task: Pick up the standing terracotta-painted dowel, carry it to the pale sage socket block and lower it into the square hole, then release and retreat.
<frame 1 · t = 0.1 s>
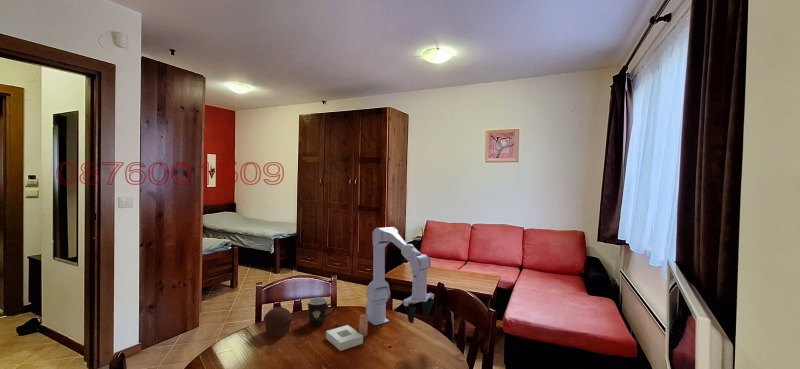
hand: (418, 319, 129), 10 cm above the table, fingers open, 7 cm apart
muffin: (277, 333, 135), on the table
socket block: (344, 340, 130), on the table
dowel: (363, 334, 136), on the table
coffee mug: (319, 324, 145), on the table
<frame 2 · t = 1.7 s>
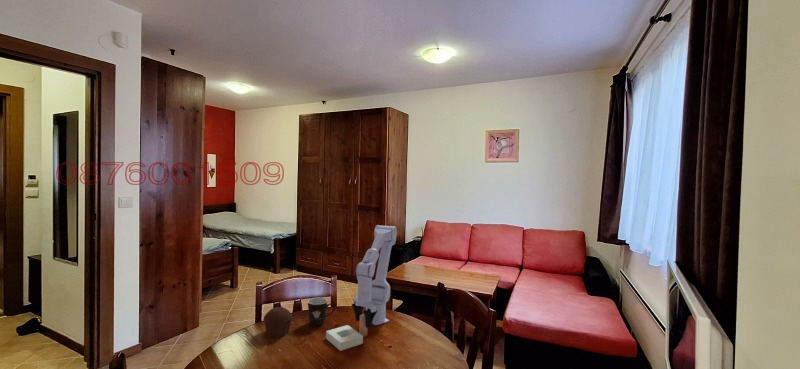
hand: (363, 323, 136), 5 cm above the table, fingers open, 7 cm apart
nothing on the table moved.
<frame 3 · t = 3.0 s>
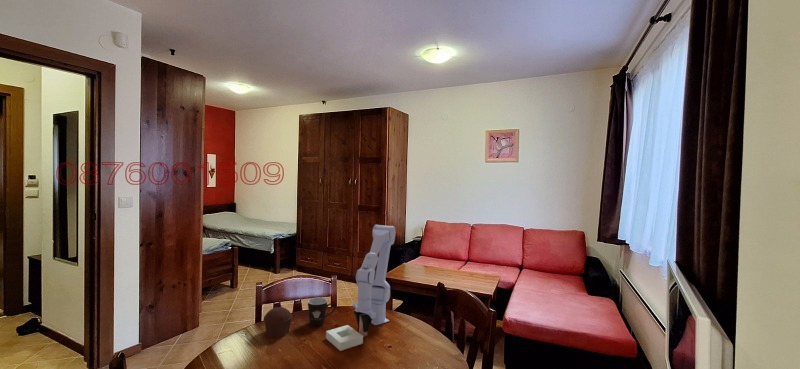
hand: (363, 329, 136), 2 cm above the table, fingers closed on dowel, 3 cm apart
dowel: (363, 334, 136), on the table, touching gripper
everything else where it was.
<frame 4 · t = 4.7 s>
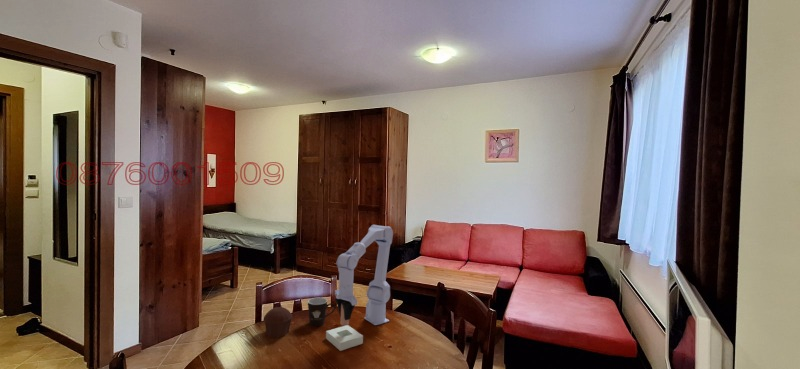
hand: (344, 317, 130), 9 cm above the table, fingers closed on dowel, 3 cm apart
dowel: (344, 323, 130), point 7 cm above the table, touching gripper
everything else where it was.
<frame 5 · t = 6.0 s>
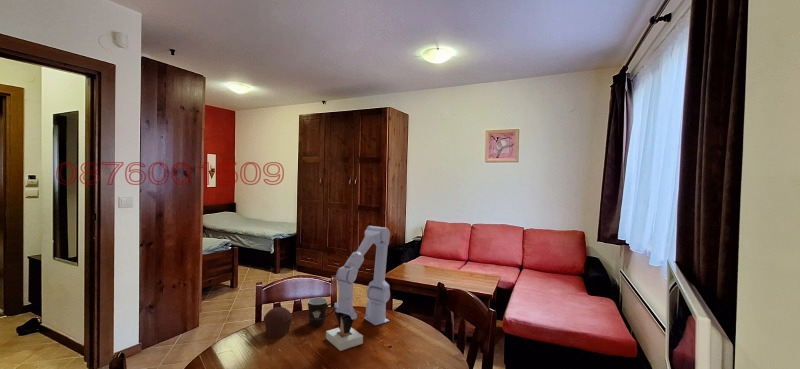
hand: (344, 330, 130), 4 cm above the table, fingers closed on dowel, 3 cm apart
dowel: (344, 336, 130), point 2 cm above the table, touching gripper
everything else where it was.
when the fingers open (4 cm above the table, at t = 6.6 s): dowel drops 2 cm, resting in socket block.
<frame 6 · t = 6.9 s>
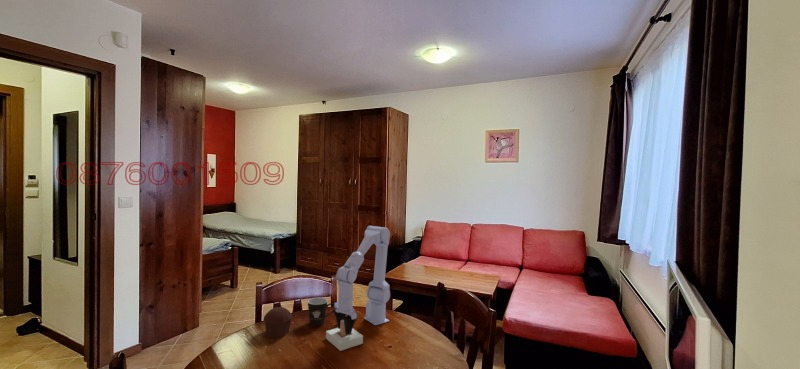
hand: (344, 330, 130), 4 cm above the table, fingers open, 6 cm apart
dowel: (344, 340, 130), resting in socket block
everything else where it was.
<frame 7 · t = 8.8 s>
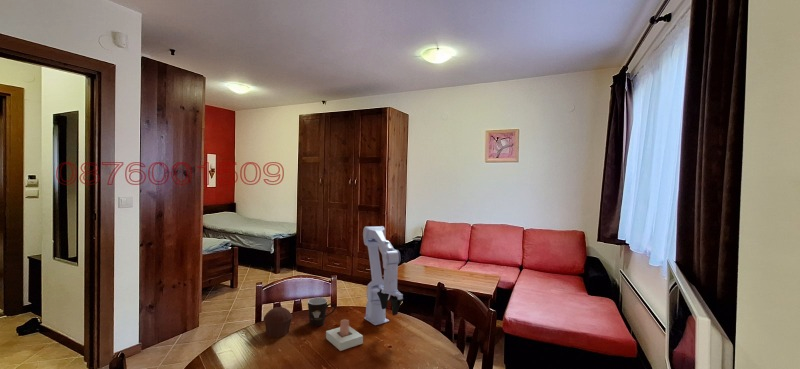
hand: (389, 311, 137), 10 cm above the table, fingers open, 7 cm apart
nothing on the table moved.
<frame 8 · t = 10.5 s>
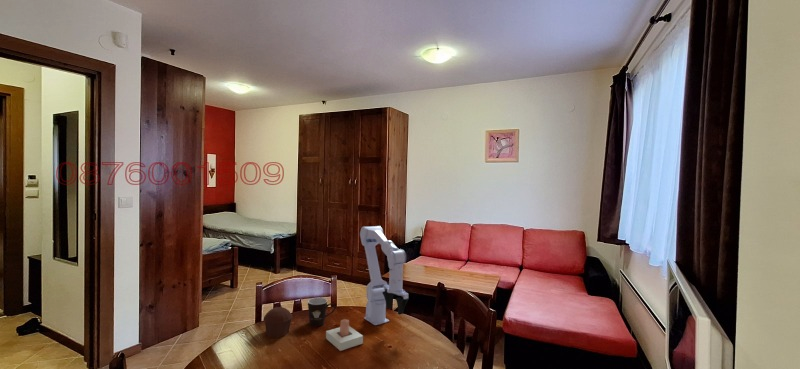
hand: (394, 310, 138), 10 cm above the table, fingers open, 7 cm apart
nothing on the table moved.
at the end: dowel 0.0 cm off-centre on the socket block, point 0.0 cm above the socket block's base; dowel tilted 0°; the gripper is holding nothing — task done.
